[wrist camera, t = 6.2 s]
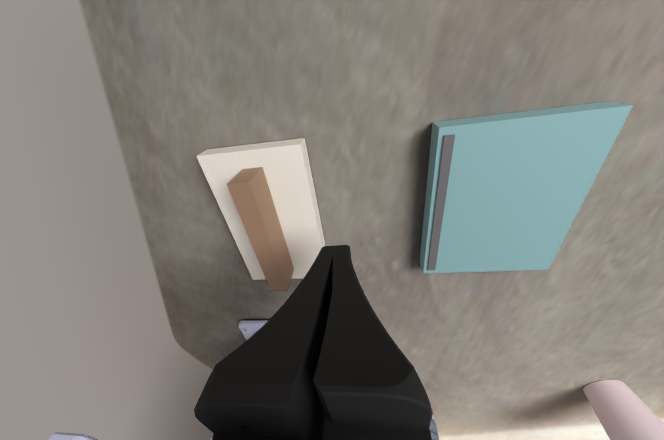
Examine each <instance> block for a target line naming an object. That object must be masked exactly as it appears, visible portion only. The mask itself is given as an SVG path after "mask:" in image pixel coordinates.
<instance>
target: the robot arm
mask: <svg viewBox="0 0 664 440" xmlns="http://www.w3.org/2000/svg"><path fill="white" fill-rule="evenodd" d="M238 327H239V328H240V330H241V332H242V333H243V335H244V337H245V338H246V340H247V341H246V342H244V343H243V344H242V345H241V346H240V347H238V348H237V349H236V350H235V351H233V352H232V353H231V354H229V355H228V356H227V357H226V358H224V359H223V360H222V361H220V362H219V363H218V364H216V366H215V368H214V370H213V371H212V373H211V375H210V376H209V379H208V381H207V383H206V385H205V387H204V389H203V391H202V394H201V396H200V398H199V400H198V402H197V404H196V406H195V409H194V412H195V416H196V418H197V419H198V420H199V421H200V422H201V423H202V424H204V425H205V426H206V427H207V428H208V429H209V430H211V431H212V432H213V433H214V435H213V437H212V438H210V440H432V438H431V434H430V429H429V427H430V423H431V419H432V408H431V405H430V402H429V399H428V396H427V394H426V391H425V389H424V387H423V385H422V383H421V381H420V379H419V377H418V375H417V373H416V371H415V369H414V367H413V365H412V364H411V363H410V362H409V360H408V359H407V358H406V357H405V355H404V354H403V353H402V352H401V350H400V349H399V348H398V346H397V345H396V344H395V342H394V341H393V340H392V338H391V337H390V335H389V334H388V333H387V331H386V329H385V328H384V326H383V325H382V323H381V322H380V320H379V319H378V317H377V316H376V314H375V312H374V311H373V309H372V307H371V305H370V304H369V302H368V300H367V298H366V296H365V294H364V292H363V290H362V288H361V286H360V283H359V281H358V279H357V276H356V273H355V270H354V268H353V265H352V261H351V253H350V247H349V246H348V245H339V246H323V247H322V248H321V250H320V252H319V254H318V256H317V257H316V259H315V261H314V263H313V264H312V266H311V268H310V269H309V271H308V272H307V274H306V275H305V277H304V278H303V280H302V281H301V283H300V284H299V285H298V287H297V288H296V290H295V291H294V292H293V293H292V295H291V296H290V297H289V298H288V300H287V301H286V302H285V303H284V304H283V306H282V307H281V308H280V309H279V310H278V311H277V312H276V313H275V314H274V315H273V316H272V317H271V318H270V319H269V320H263V321H240V322H239V324H238ZM48 440H97V439H95V438H93V437H90V436H87V435H84V434H75V433H60V432H56V433H54V434H52V436H51V437H50V438H49V439H48Z"/></svg>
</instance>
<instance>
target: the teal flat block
mask: <svg viewBox="0 0 664 440" xmlns="http://www.w3.org/2000/svg"><path fill="white" fill-rule="evenodd" d="M632 106H633V105H629V104H622V103H616V102H609V101H607V102H599V103H591V104H582V105H574V106H565V107H557V108H549V109H540V110H532V111H523V112H515V113H507V114H498V115H490V116H482V117H473V118H465V119H456V120H448V121H440V122H433V123H432V133H431V144H430V154H429V165H428V176H427V186H426V197H425V207H424V218H423V229H422V239H421V250H420V261H419V262H420V265H421V268H422V271H423V273H453V272H485V271H516V270H547V269H549V267H550V265H551V263H552V261H553V260H554V258H555V256H556V254H557V252H558V250H559V248H560V246H561V244H562V242H563V240H564V238H565V236H566V234H567V232H568V230H569V228H570V227H571V225H572V223H573V221H574V219H575V217H576V215H577V213H578V211H579V209H580V207H581V205H582V203H583V201H584V199H585V197H586V196H587V194H588V192H589V190H590V188H591V186H592V184H593V182H594V180H595V178H596V176H597V174H598V172H599V170H600V168H601V166H602V164H603V163H604V161H605V159H606V157H607V155H608V153H609V151H610V149H611V147H612V145H613V143H614V141H615V139H616V137H617V135H618V133H619V131H620V130H621V128H622V126H623V124H624V122H625V120H626V118H627V116H628V114H629V112H630V110H631V108H632Z"/></svg>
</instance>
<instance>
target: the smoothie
mask: <svg viewBox="0 0 664 440" xmlns="http://www.w3.org/2000/svg"><path fill="white" fill-rule="evenodd" d="M583 392H584V393H585V395H586V397H587V399H588V401H589V402H590V404H591V406H592V408H593V410H594V411H595V413H596V415H597V417H598V419H599V420H600V422H601V424H602V426H603V428H604V429H605V431H606V433H607V435H608V436H609V438H610V440H664V423H663V422H662V421H661V420H660V419H659V418H658V417H657V416H656V415H655V414H654V413H653V412H652V411H651V410H650V409H649V408H648V407H647V406H646V404H645V403H644V402H643V401H642V400H641V399H640V398H639V397H638V396H637V395H636V394H635V393H634V392H633V391H632V390H631V389H630V388H629V387H628V386H627V385H626V384H625V383H623V382H622V381H618V380H602V381H597V382H593V383H590V384H588V385H586V386H585V387H584V388H583Z"/></svg>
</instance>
